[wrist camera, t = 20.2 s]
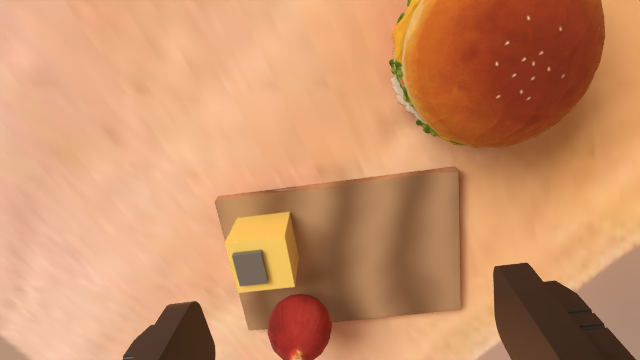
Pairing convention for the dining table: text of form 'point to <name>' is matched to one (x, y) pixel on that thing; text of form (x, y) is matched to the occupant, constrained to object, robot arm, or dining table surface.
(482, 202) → the dining table surface
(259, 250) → the yellow cube
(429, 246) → the board
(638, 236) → the dining table surface
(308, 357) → the onion
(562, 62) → the burger
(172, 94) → the dining table surface
